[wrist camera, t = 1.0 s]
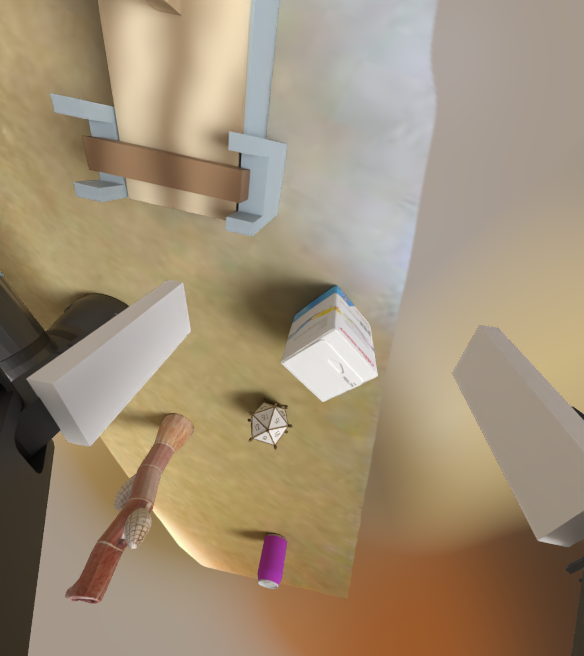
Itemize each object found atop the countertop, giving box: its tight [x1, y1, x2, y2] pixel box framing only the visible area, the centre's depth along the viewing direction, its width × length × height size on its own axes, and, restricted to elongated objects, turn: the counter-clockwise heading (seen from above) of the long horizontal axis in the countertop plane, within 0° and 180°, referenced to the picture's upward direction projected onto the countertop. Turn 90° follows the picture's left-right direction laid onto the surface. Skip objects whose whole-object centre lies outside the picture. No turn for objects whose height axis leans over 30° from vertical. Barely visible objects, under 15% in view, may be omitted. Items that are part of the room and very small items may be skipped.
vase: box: [65, 414, 194, 604], centre depth 50 cm, size 10×7×30 cm
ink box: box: [281, 285, 378, 402], centre depth 36 cm, size 8×8×12 cm
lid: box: [98, 0, 252, 220], centre depth 18 cm, size 11×25×10 cm, turn 170°
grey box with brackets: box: [50, 0, 287, 236], centre depth 22 cm, size 17×26×12 cm, turn 170°
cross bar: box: [82, 136, 250, 203], centre depth 24 cm, size 14×2×2 cm, turn 80°
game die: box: [248, 399, 293, 450], centre depth 50 cm, size 9×8×10 cm
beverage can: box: [258, 533, 287, 589], centre depth 85 cm, size 8×8×12 cm
